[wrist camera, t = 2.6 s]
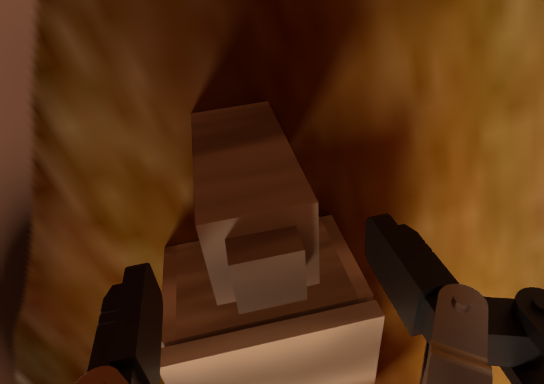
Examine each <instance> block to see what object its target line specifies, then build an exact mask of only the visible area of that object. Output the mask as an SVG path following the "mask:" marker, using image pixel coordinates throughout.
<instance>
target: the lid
mask: <svg viewBox="0 0 544 384" xmlns="http://www.w3.org/2000/svg"><path fill="white" fill-rule="evenodd" d="M384 317H385V316H384V314H383V312H382V310H381V308H380V306H379V304H378V302H377V300H372V301H368V302H364V303H359V304H355V305H350V306H346V307H341V308H337V309H332V310H328V311H323V312H319V313H315V314H310V315H306V316H301V317H297V318H292V319H288V320H283V321H279V322H274V323H270V324H266V325H261V326H257V327H252V328H248V329H243V330H239V331H234V332H230V333H226V334H221V335H217V336H212V337H208V338H203V339H199V340H194V341H190V342H185V343H181V344H177V345H172V346H168V347H163V348H161V363H160V375H161V377H162V379H163V381H164V383H165V384H375V378H376V371H377V364H378V358H379V351H380V344H381V338H382V331H383V324H384Z"/></svg>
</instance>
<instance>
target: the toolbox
mask: <svg viewBox="0 0 544 384" xmlns="http://www.w3.org/2000/svg"><path fill="white" fill-rule="evenodd" d="M319 275H320V284H315V285H311V286H307V300H302V301H298V302H293V303H289V304H284V305H280V306H275V307H270V308H266V309H261V310H257V311H252V312H248V313H243V314H239V312H238V307H237V303H236V302H232V303H227V304H222V305H218V306H217V303H216V299H215V295H214V292H213V288H212V284H211V281H210V277H209V274H208V270H207V266H206V263H205V259H204V256H203V252H202V248H201V245H200V241H194V242H189V243H184V244H179V245H174V246H169V247H165V250H164V266H163V283H162V298H163V325H162V344H161V348H163V347H168V346H172V345H177V344H181V343H185V342H190V341H194V340H199V339H203V338H208V337H212V336H217V335H221V334H226V333H230V332H234V331H239V330H243V329H248V328H252V327H257V326H261V325H266V324H270V323H274V322H279V321H283V320H288V319H292V318H297V317H301V316H306V315H310V314H315V313H319V312H323V311H328V310H332V309H337V308H341V307H346V306H350V305H355V304H359V303H364V302H368V301H372V300H373V297H374V295H373V293H372V291H371V289H370V287H369V285H368V283H367V281H366V279H365V277H364V276H363V274H362V272H361V270H360V268H359V266H358V264H357V262H356V260H355V258H354V257H353V255H352V253H351V251H350V249H349V247H348V245H347V243H346V241H345V239H344V238H343V236H342V234H341V232H340V230H339V228H338V226H337V224H336V222H335V220H334V219H333V217H332V215H327V216H322V217H319Z"/></svg>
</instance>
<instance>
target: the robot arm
mask: <svg viewBox="0 0 544 384" xmlns="http://www.w3.org/2000/svg"><path fill="white" fill-rule="evenodd" d="M365 254H366V258H367V261H368V263H369V265H370V266H371V268H372V270H373V272H374V273H375V275H376V277H377V278H378V280H379V282H380V284H381V285H382V287H383V289H384V291H385V292H386V294H387V296H388V297H389V299H390V301H391V303H392V304H393V306H394V308H395V309H396V311H397V313H398V315H399V316H400V318H401V320H402V321H403V323H404V325H405V327H406V328H407V330H408V332H409V333H410V335H411V337H412V336H416V335H420V334H423V336H424V338H425V339H426V341H427V342H426V346H425V353H424V359H423V365H422V371H421V377H420V384H492V381H493V374H492V367H491V366H500V367H501V369H502V370H503V372H504V373H505V375H506V376H507V378H508V379H509V381H510V382H511V384H544V289H541V288H535V287H529V288H524V289H521V290H520V291H519V292H518V293H517V294H516V296H515V299H510V298H491V297H484V296H483V295H482V294H481V293H480V292H478V291H477V290H475V289H473V288H472V287H469V286H466V285H463V284H459V283H458V282H457V280H456V279H455V278H454V277H453V275H452V274H451V273H450V272H449V270H448V269H447V268H446V267H445V266H444V264H443V263H442V262H441V261H440V259H439V258H438V257H437V256H436V255H435V253H434V252H432V250H431V248H430V247H429V246H428V245H427V244H426V243H425V241H424V240H423V239H422V237H421V236H420V235H419V234H418V232H417V231H415V230H413V229H412V228H410V227H409V226H407V225H405V224H402V225H397V223H396V222H395V221H394V220H393V218H392V217H391V216H390V215H389V214H382V215H377V216H372V217H368V218H367V221H366V234H365ZM162 325H163V298H162V294H161V290H160V288H159V285H158V283H157V281H156V278H155V276H154V273H153V271H152V268H151V266H150V264H149V263H144V264H139V265H134V266H129V267H126V268H125V271H124V277H123V282H122V283H121V284H117V285H112V287H111V288H110V290H109V291H108V293H107V294H106V296H105V297H104V299H103V303H102V308H101V315H100V317H99V321H98V326H97V330H96V335H95V339H94V344H93V348H92V353H91V357H90V362H89V366H88V370H87V373H86V374H84V375H83V376H82V377H81V378H80V379H79V380H78V381H77V382H76V384H159V382H160V363H161V344H162Z"/></svg>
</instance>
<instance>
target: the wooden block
mask: <svg viewBox="0 0 544 384" xmlns="http://www.w3.org/2000/svg"><path fill="white" fill-rule="evenodd" d="M191 125H192V152H193V179H194V206H195V227H196V230H197V234H198V238H199V241H200V245H201V248H202V252H203V256H204V259H205V263H206V266H207V270H208V274H209V277H210V281H211V284H212V288H213V292H214V295H215V299H216V303H217V306H218V305H222V304H227V303H232V302H236V303H237V307H238V312H239V314H243V313H248V312H252V311H257V310H261V309H266V308H270V307H275V306H280V305H284V304H289V303H293V302H298V301H302V300H307V286H311V285H315V284H320V275H319V217H318V201H317V199H316V197H315V195H314V193H313V191H312V189H311V187H310V185H309V183H308V181H307V179H306V177H305V175H304V173H303V171H302V169H301V167H300V165H299V163H298V161H297V159H296V157H295V155H294V153H293V150H292V148H291V146H290V144H289V142H288V140H287V138H286V136H285V134H284V132H283V130H282V128H281V126H280V124H279V122H278V120H277V118H276V116H275V114H274V112H273V110H272V108H271V106H270V104H269V102H268V101H266V102H259V103H253V104H247V105H241V106H234V107H228V108H222V109H215V110H209V111H203V112H197V113H191Z"/></svg>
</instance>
